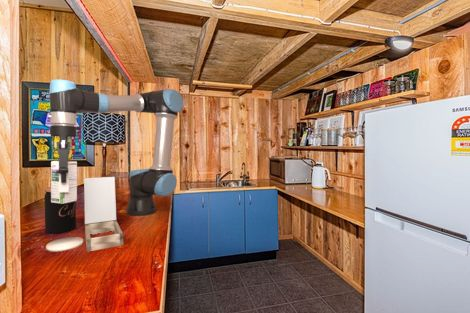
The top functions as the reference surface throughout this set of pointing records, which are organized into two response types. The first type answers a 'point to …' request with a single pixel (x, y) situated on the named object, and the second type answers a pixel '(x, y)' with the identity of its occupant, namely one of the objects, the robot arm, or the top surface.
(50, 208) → the coffee jar
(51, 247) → the saucer
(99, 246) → the box
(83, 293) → the top surface
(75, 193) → the syrup box
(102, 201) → the lid
